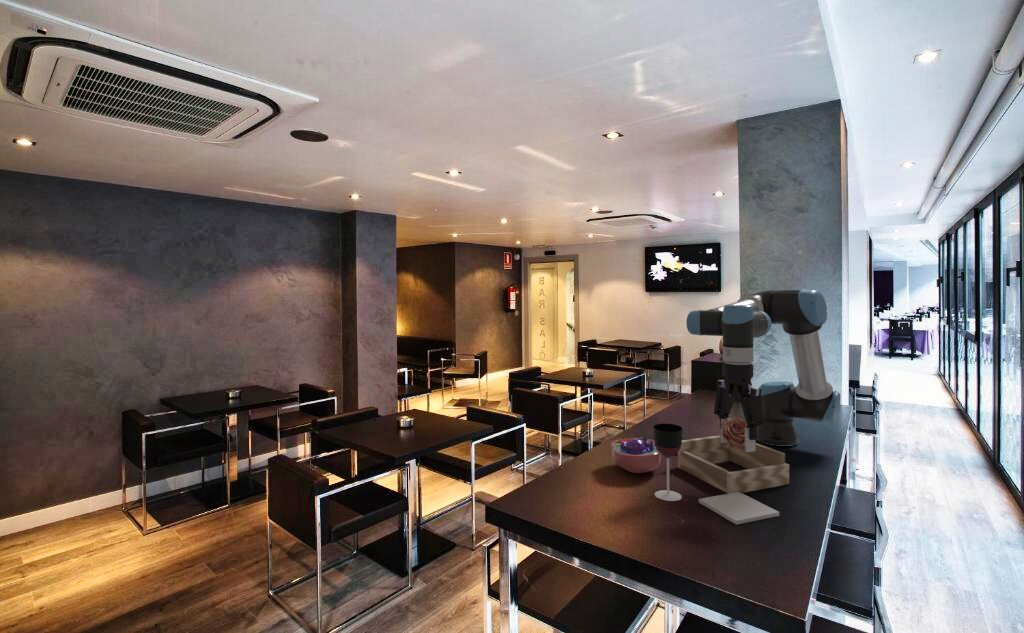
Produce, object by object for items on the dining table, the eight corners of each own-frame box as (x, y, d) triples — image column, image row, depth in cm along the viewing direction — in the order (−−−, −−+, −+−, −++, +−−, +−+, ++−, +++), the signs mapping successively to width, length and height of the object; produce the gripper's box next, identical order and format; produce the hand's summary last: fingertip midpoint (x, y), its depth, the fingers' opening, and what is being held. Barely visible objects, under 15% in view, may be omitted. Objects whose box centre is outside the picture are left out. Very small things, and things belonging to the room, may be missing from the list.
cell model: (667, 463, 167) (666, 431, 167) (658, 484, 149) (658, 448, 149) (618, 457, 175) (617, 426, 174) (604, 476, 156) (604, 442, 156)
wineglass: (682, 491, 144) (682, 424, 143) (682, 503, 136) (682, 432, 135) (654, 488, 146) (654, 422, 146) (653, 499, 138) (652, 430, 137)
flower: (712, 435, 137) (715, 418, 132) (741, 427, 137) (745, 410, 133) (730, 461, 130) (734, 445, 125) (760, 453, 130) (765, 436, 126)
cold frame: (730, 459, 170) (730, 433, 170) (789, 484, 148) (789, 455, 147) (677, 467, 163) (677, 441, 163) (730, 494, 141) (730, 464, 140)
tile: (738, 495, 140) (738, 491, 140) (779, 515, 127) (779, 512, 127) (698, 502, 136) (698, 499, 136) (736, 524, 123) (736, 520, 123)
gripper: (699, 358, 138) (699, 437, 139) (757, 368, 119) (757, 460, 120) (721, 357, 141) (721, 434, 142) (781, 366, 121) (780, 456, 122)
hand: (737, 446), depth 131 cm, fingers closed on flower, 8 cm apart
